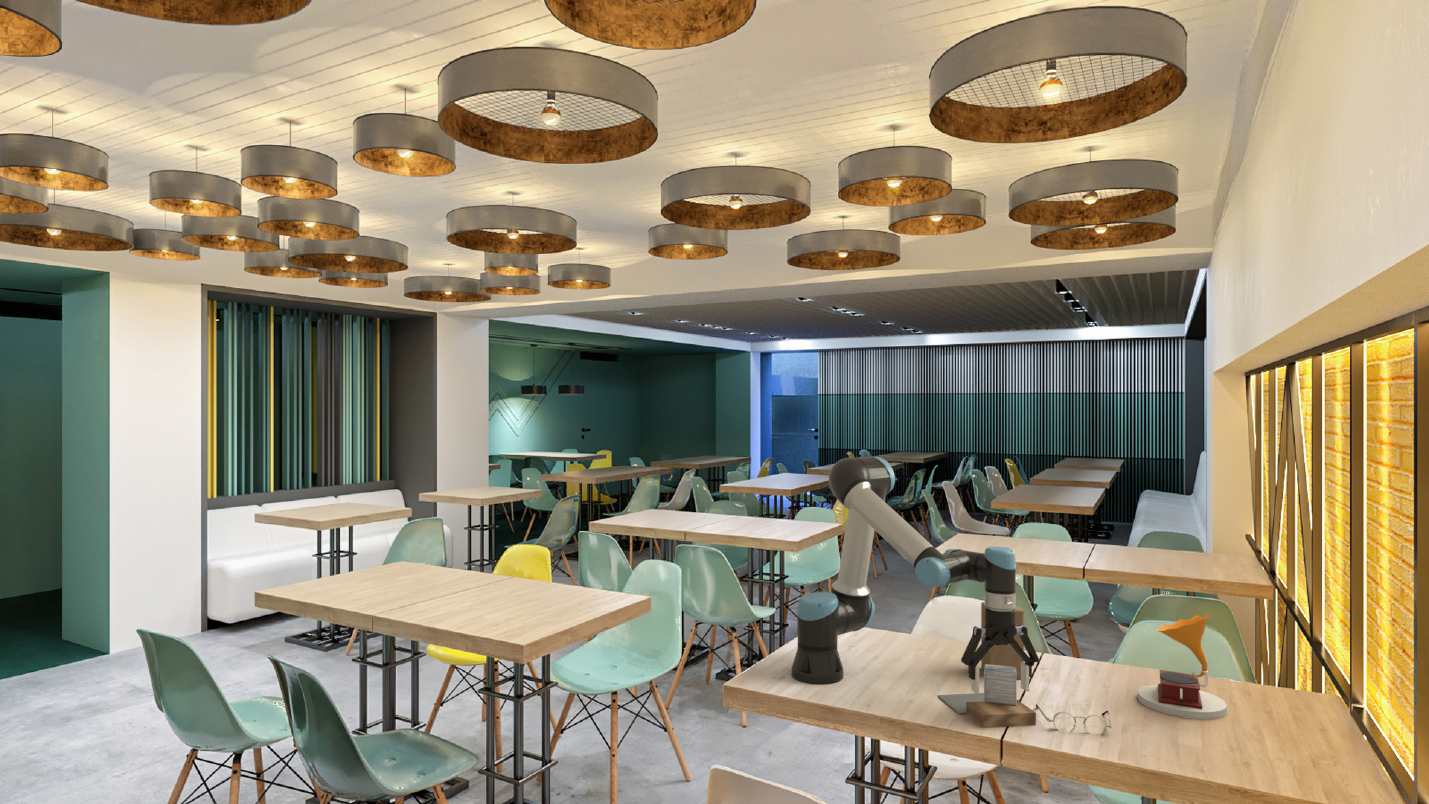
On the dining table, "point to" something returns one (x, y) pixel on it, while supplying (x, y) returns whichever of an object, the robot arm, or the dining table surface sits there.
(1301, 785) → the dining table surface
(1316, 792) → the dining table surface
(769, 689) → the dining table surface
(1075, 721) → the round eyeglasses
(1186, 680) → the gramophone
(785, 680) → the dining table surface
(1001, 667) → the medicine box
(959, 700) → the mat
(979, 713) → the brown wooden flat block
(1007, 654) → the wooden block
